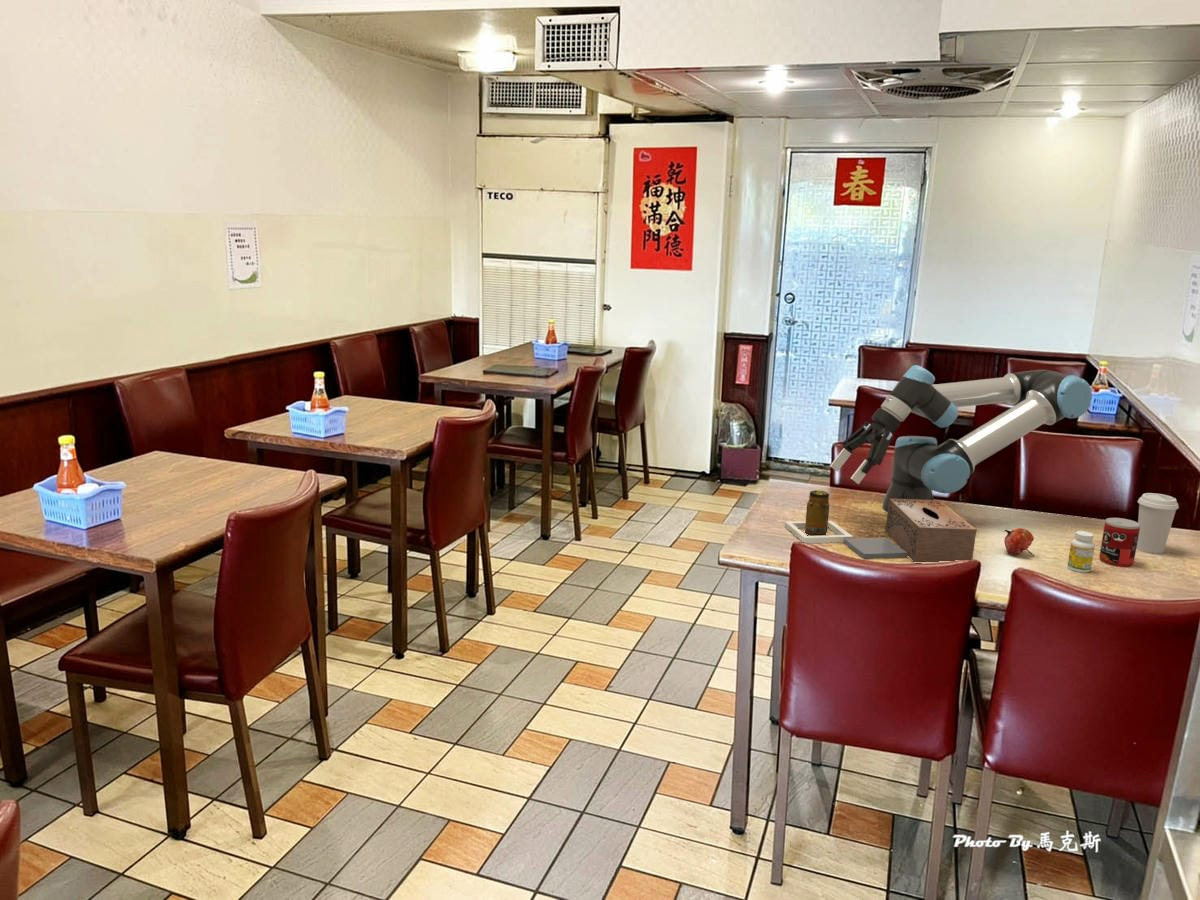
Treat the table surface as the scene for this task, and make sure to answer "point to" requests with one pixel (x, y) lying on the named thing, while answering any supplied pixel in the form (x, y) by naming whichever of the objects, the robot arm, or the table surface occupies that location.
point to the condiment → (817, 513)
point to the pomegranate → (1018, 541)
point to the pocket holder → (818, 539)
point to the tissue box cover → (929, 530)
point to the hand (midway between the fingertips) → (843, 475)
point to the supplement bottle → (1081, 552)
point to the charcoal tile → (875, 548)
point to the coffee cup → (1155, 521)
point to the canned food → (1119, 542)
